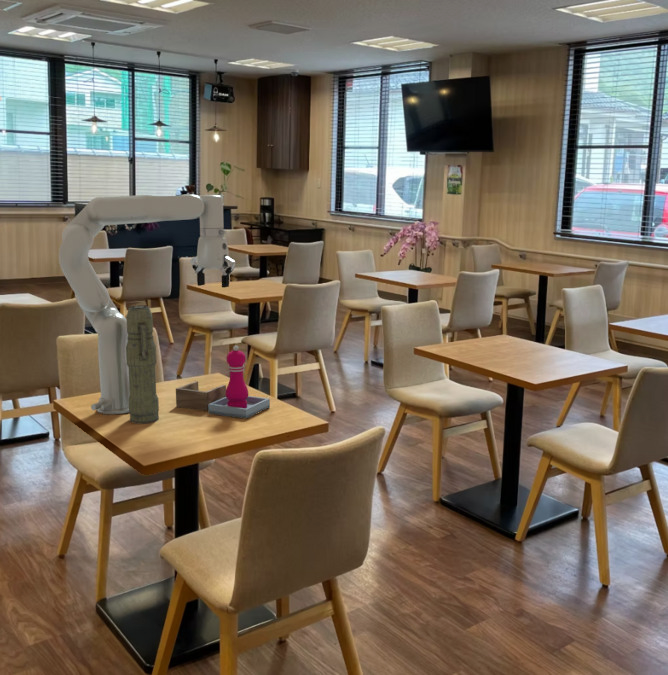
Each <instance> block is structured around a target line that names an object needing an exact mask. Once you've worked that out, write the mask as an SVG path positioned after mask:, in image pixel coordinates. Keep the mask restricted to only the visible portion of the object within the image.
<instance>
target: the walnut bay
mask: <svg viewBox="0 0 668 675" xmlns="http://www.w3.org/2000/svg"><path fill="white" fill-rule="evenodd" d="M226 389H227V385H226V384H222V385H218V386H217V387H214V388H212V389H209V390H205V391H202V390H199V381H196V380H195V381H193V382H189V383H186V384H184V385H181V386H179V387H176V388H175V404H176V406H177V408H183V407H184V408H183V409H189V408H190V410H197V411H205V412H209V408H208V404H210V403H212V402H215V401H217V400H220V399H222V398H224V397H226ZM176 406H175V407H176Z"/></svg>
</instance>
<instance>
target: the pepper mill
mask: <svg viewBox="0 0 668 675" xmlns="http://www.w3.org/2000/svg"><path fill="white" fill-rule="evenodd" d="M246 360H247V358H246V354H245V353H244V352H243V351H241V350H239V346H238V345H233V347H232V350H231V351H229V352H228V353H227V355H226V363H227V364H228V371H229V380H228V381H229V382H228V384H227V385H226V398H227V399H228V400H229V401H228V402H227V406H231V407H238V408H247V401H246V398H247V397H248V396H249V389H248V386H247V384H246V382H245V379H244V371H245V365H244V364H245V363H246Z"/></svg>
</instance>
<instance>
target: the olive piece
mask: <svg viewBox="0 0 668 675" xmlns="http://www.w3.org/2000/svg"><path fill="white" fill-rule="evenodd" d="M125 318H126V319H127V333H128V342H127V345H126V358H127V365H128V367H129V385H130V396H129V412H128V413H129V421H130V422H131V423H132V422H133V424H137V423H141V424H143V425H145V424H151V423H155V422H157V421H159V418H160V417H159V411H160V407H159V404H160V402H159V397H158V395H157V394H158V393H157V382H156V380H157V379H156V378H157V377H156V365H157V346H156V343H155V340H154V335H153V332H154V328H153V327H154V326H153V325H154V322H153V321H154V320H153V313H152V311H151V309H150V307H149V306H147V305H143V304H142V305H140V304H139V305H132V306H131V307H128V311H127V314H126V317H125Z"/></svg>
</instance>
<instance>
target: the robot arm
mask: <svg viewBox="0 0 668 675" xmlns="http://www.w3.org/2000/svg"><path fill="white" fill-rule="evenodd" d="M195 219H196V220H197V219H199V235H200V236H199V237H198V242H197V249H196V250H197V252H196V256H194V257H192V258H191V259H190V260H189V261H190V264H191V265H192V270H194V273H195V274H196V282H197V284H196V285H197V286H199V287H201V286H205V284H206V280H205V279H206V278H205V277H206V275H205V272H204V271H205V270H206V269H212V270H220V272H221V274H222V275H221V288H223V289H224V288H229V286H230V275H231V274H232V272H233V271H234V269H235V266H236V261H235V260H234V259H232V258H231V257H230V252H229V245H228V241H227V237H225V235H226V234H227V230H225V229H224V199H223V197H222V196H221V195H218V194H204V195H203V194H202V195H197V194H192V193H190V194H188V193H187V194H180V195H165V196H164V195H148V194H145V195H144V194H139V195H137V194H136V195H125V196H124V195H123V196H122V195H121V196H119V195H118V196H104V197H103V196H98V197H94V198H93V199H91V200H90V201H89V202H88V203H87V204H86V205H85V206H84V207H83V208H82V210H81V211H80V212H79V213H77V215H76V216H75V217H74V218H73V219H72V220H71V221H70V222H69V223H68V224H67V225H66V226H65V228H64V229H63V231H62V234H61V241H62V242H61V244H60V246H59V250H58V262H59V266H60V270H61V271H62V273H63V275H64V277H65V278H66V281H67V283H68V285H69V286H70V288H71V290H72V291H73V293H74V297H75V300H76V303H77V304H78V306H79V308H80V309H81V311H82V312H83V314H84V315H85V317H86V318H87V319H88V322H90V325H91V326H92V328H93V329H94V331H95V332H96V333H97V342H98V343H97V344H98V346H97V348H98V349H97V351H98V352H97V353H98V354H97V355H98V368H99V370H98V371H99V386H100V397H99V398H98V402H96V403H93V404H90V409H91V410H92V411H96V412H97V413H99V414H102V413H103V415H120V414H126V413H127V414H128V413H129V396H130V385H129V367H128V365H127V358H126V345H127V342H128V333H127V318H126V317H125V316H124V315H123V313H121V312H120V311H119V310H118V308H117V306H116V305H115V303H114V302H113V300H112V298H111V297H110V292H109V291H108V289H107V286H105V285H104V284H103V282H102V281H101V279H100V277H99V276H98V275H97V274H98V273H96V271H95V269H94V267H93V265H92V263H91V262H90V260H89V252H90V250H91V249H92V247H93V245H94V241H95V240H94V239H95V237H97V235H98V234H99V233H100V232H101V231H102V230H103V229H104V227H105V226H113V225H116V226H117V225H127V224H145V223H147V224H149V223H150V224H151V223H156V222H166V221H182V220H184V221H185V220H195Z"/></svg>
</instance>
